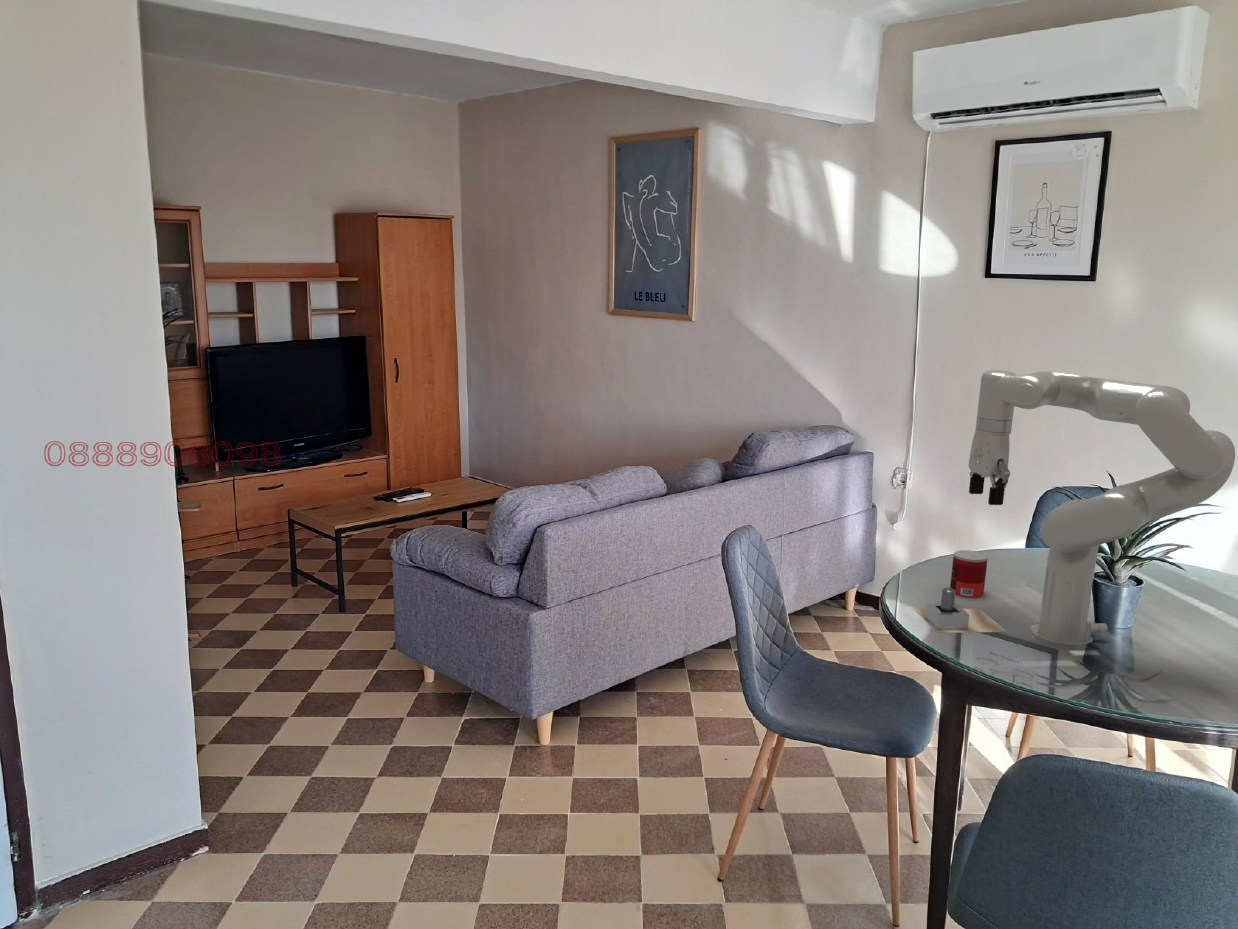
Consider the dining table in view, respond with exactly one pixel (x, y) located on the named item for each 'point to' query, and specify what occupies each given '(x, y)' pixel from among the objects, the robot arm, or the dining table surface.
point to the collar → (947, 618)
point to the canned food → (968, 573)
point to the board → (971, 622)
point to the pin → (947, 600)
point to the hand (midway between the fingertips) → (985, 499)
